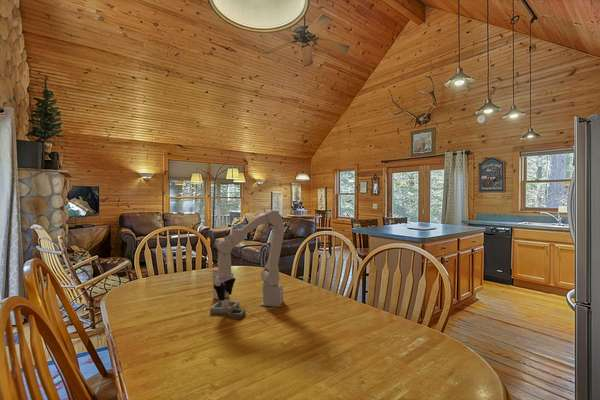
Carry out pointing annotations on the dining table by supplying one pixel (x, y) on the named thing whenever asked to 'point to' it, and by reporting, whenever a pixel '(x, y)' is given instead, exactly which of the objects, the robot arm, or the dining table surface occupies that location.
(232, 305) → the parts tray
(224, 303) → the cylinder
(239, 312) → the fuse socket
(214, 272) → the syrup box
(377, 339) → the dining table surface
